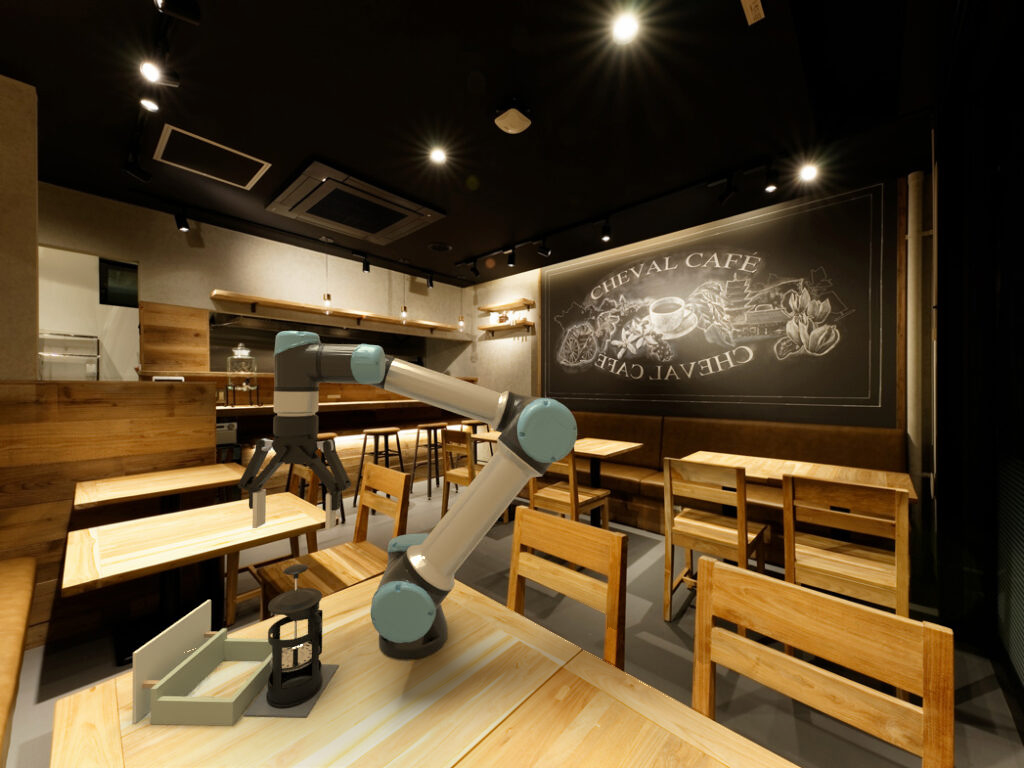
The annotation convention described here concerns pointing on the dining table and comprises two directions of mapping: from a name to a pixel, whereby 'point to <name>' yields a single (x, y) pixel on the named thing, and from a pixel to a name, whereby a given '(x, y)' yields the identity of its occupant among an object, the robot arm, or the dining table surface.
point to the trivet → (301, 711)
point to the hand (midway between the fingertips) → (294, 526)
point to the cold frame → (194, 673)
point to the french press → (295, 644)
